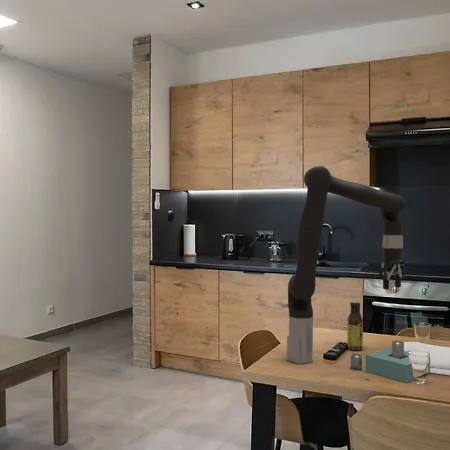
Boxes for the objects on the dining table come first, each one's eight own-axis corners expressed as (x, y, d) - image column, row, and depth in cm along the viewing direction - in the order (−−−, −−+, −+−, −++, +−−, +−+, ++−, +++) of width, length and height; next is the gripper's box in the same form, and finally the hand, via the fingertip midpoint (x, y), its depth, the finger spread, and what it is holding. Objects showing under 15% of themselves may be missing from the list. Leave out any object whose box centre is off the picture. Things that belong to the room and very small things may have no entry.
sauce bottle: (363, 351, 210) (363, 303, 209) (347, 350, 211) (348, 303, 211) (362, 347, 216) (362, 301, 216) (347, 346, 218) (347, 300, 217)
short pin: (357, 371, 185) (357, 357, 184) (348, 368, 188) (348, 355, 187) (364, 369, 187) (364, 355, 187) (354, 366, 190) (355, 353, 190)
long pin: (399, 374, 181) (400, 344, 180) (389, 371, 184) (390, 341, 183) (405, 372, 183) (406, 342, 183) (395, 369, 186) (396, 340, 186)
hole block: (406, 382, 172) (406, 365, 172) (365, 371, 184) (365, 354, 184) (429, 373, 183) (430, 356, 182) (389, 362, 195) (390, 347, 195)
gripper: (393, 245, 205) (393, 285, 206) (373, 246, 196) (373, 288, 196) (411, 246, 199) (410, 287, 200) (391, 248, 190) (390, 291, 191)
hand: (391, 288), depth 198 cm, fingers open, 8 cm apart
